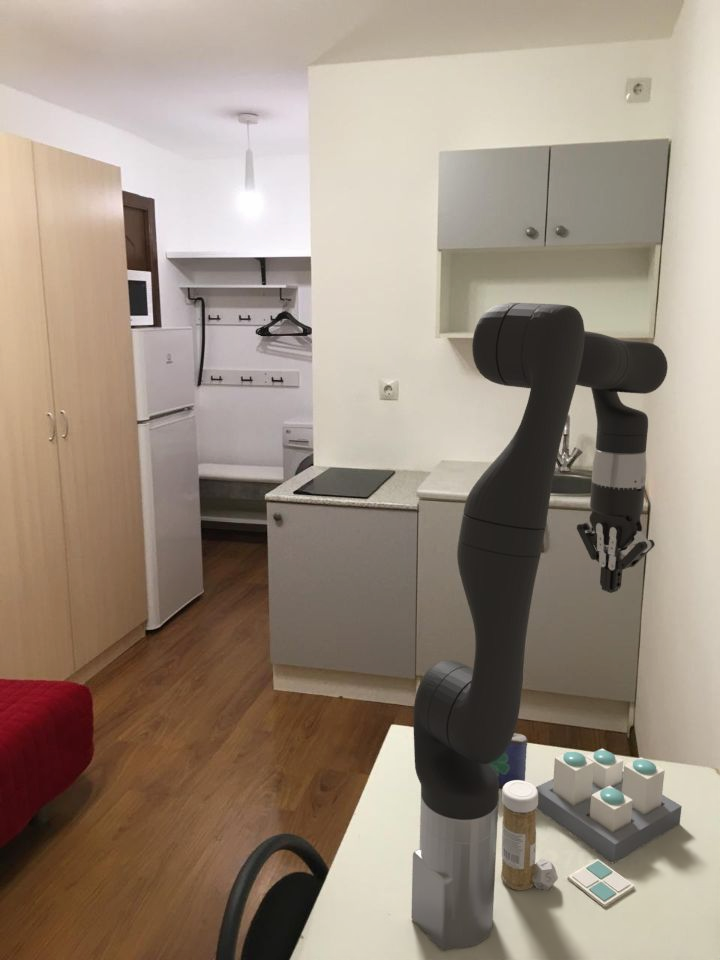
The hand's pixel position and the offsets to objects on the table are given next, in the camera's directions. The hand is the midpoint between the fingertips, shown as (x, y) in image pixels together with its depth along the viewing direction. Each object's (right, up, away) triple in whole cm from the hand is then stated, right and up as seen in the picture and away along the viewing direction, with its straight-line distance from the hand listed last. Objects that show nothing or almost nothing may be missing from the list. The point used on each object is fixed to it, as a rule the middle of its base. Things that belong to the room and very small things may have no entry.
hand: (610, 590), depth 116 cm
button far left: (0, -32, +3) cm, 32 cm away
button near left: (-6, -31, -1) cm, 31 cm away
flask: (-16, -32, +6) cm, 36 cm away
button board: (-1, -33, -2) cm, 34 cm away
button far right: (+3, -31, -3) cm, 32 cm away
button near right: (-2, -34, -7) cm, 35 cm away
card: (-6, -36, -16) cm, 40 cm away
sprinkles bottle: (-17, -36, -15) cm, 43 cm away
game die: (-14, -37, -16) cm, 42 cm away
